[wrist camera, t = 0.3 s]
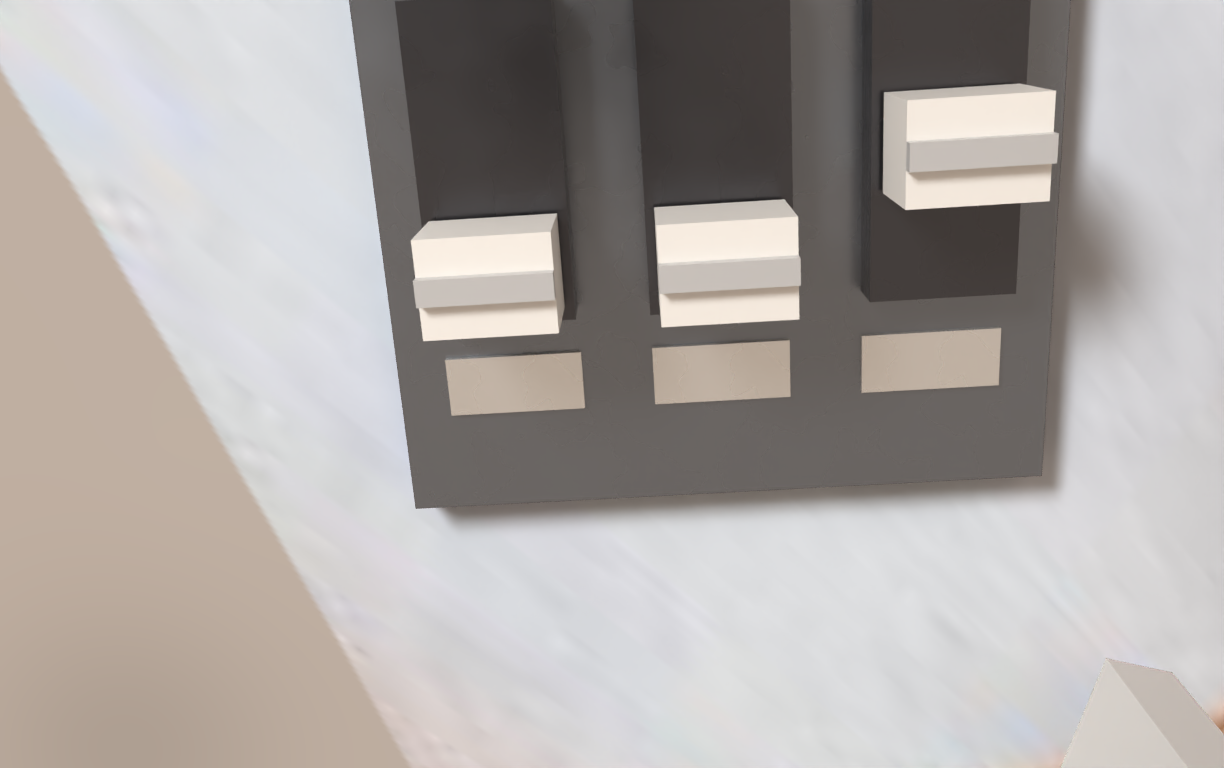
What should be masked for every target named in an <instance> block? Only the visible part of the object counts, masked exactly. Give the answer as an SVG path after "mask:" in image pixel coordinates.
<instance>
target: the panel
mask: <svg viewBox="0 0 1224 768" xmlns="http://www.w3.org/2000/svg"><path fill="white" fill-rule="evenodd" d="M1070 1H1071V0H349V4H350V12H351V19H352V27H353V34H354V42H355V50H356V57H357V65H358V73H359V80H360V88H361V95H362V103H363V111H364V118H365V126H366V133H367V141H368V149H369V156H370V164H371V172H372V179H373V187H374V194H375V202H376V210H377V217H378V225H379V233H380V240H381V248H382V255H383V263H384V271H385V278H386V286H387V293H388V301H389V309H390V316H391V324H392V332H393V339H394V347H395V354H396V362H397V370H398V377H399V385H400V392H401V400H402V408H403V415H404V423H405V431H406V438H407V446H408V453H409V461H410V469H411V476H412V484H413V492H414V499H415V507H416V509H419V508H438V507H457V506H476V505H495V504H514V503H533V502H552V501H571V500H590V499H609V498H628V497H647V496H666V495H685V494H704V493H723V492H741V491H760V490H779V489H798V488H817V487H836V486H855V485H874V484H893V483H912V482H931V481H950V480H969V479H988V478H1007V477H1026V476H1042V463H1043V447H1044V430H1045V414H1046V397H1047V381H1048V364H1049V348H1050V331H1051V315H1052V298H1053V282H1054V265H1055V249H1056V232H1057V216H1058V199H1059V183H1060V166H1061V150H1062V133H1063V117H1064V100H1065V84H1066V67H1067V51H1068V34H1069V18H1070ZM1004 84H1025V85H1030V86H1035V87H1040V88H1045V89H1050V90H1055V91H1056V100H1055V117H1054V132H1055V133H1059V140H1058V157H1057V163H1055V164H1052V169H1051V186H1050V201H1045V202H1028V203H1012V204H996V205H979V206H963V207H947V208H930V209H914V210H905V209H903V208H902V207H901V206H899V205H898V204H897V203H895V202H894V201H893V200H891V199H890V198H889V197H887V196H886V195H885V194H883V130H884V92H897V91H912V90H928V89H943V88H958V87H974V86H989V85H1004ZM781 199H785V201H786V202H787V203H788V205H789V206H790V207H791V208H792V210H793V211H794V212H795V213H796V215H797V216H798V248H799V256H800V258H801V286H799V319H798V320H780V321H763V322H746V323H729V324H711V325H694V326H677V327H661V316H660V306H659V290H658V272H657V253H656V234H655V215H654V207H668V206H684V205H700V204H716V203H733V202H749V201H765V200H781ZM555 213H557V218H558V231H559V243H560V256H561V268H562V281H563V293H564V305H565V308H564V313H563V317H562V322H561V326H560V331H559V333H556V334H539V335H522V336H505V337H487V338H470V339H453V340H436V341H423V336H422V328H421V320H420V312H419V308H416V303H415V295H414V287H413V280H414V279H415V271H414V263H413V254H412V246H411V240H412V239H413V237H414V236H415V235H416V234H417V233H418V232H419V231H420V230H421V229H422V228H423V227H424V226H425V225H426V224H427V223H428V221H442V220H458V219H474V218H490V217H506V216H523V215H539V214H555Z"/></svg>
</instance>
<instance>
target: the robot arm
mask: <svg viewBox="0 0 1224 768" xmlns="http://www.w3.org/2000/svg"><path fill="white" fill-rule="evenodd" d="M1061 768H1224V734H1223V733H1222V732H1221V731H1220V729H1219V728H1218V727H1217V726H1216V725H1215V723H1214V722H1213V721H1212V720H1211V719H1210V717H1209V716H1208V715H1207V714H1206V713H1205V711H1204V710H1203V709H1202V708H1201V707H1200V705H1199V704H1198V703H1197V702H1196V701H1195V699H1194V698H1193V697H1192V696H1191V695H1190V693H1189V692H1188V691H1187V690H1186V689H1185V687H1184V686H1183V685H1182V684H1181V683H1180V681H1179V680H1178V679H1177V678H1176V677H1175V675H1174V674H1173V673H1172V672H1167V671H1162V670H1158V669H1153V668H1149V667H1144V666H1139V665H1135V664H1130V663H1126V662H1121V661H1116V660H1112V659H1107V658H1106V660H1105V662H1104V664H1103V667H1102V669H1101V672H1100V674H1099V677H1098V679H1097V681H1096V684H1095V686H1094V689H1093V691H1092V693H1091V696H1090V698H1089V701H1088V703H1087V705H1086V708H1085V710H1084V713H1083V715H1082V717H1081V720H1080V722H1079V725H1078V727H1077V729H1076V732H1075V734H1074V737H1073V739H1072V741H1071V744H1070V746H1069V749H1068V751H1067V753H1066V756H1065V758H1064V761H1063V763H1062V765H1061Z"/></svg>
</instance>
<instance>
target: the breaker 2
mask: <svg viewBox="0 0 1224 768" xmlns="http://www.w3.org/2000/svg"><path fill="white" fill-rule="evenodd" d="M654 215H655V234H656V253H657V272H658V290H659V306H660V316H661V327H677V326H694V325H711V324H729V323H746V322H763V321H780V320H798V319H799V286H801V258H800V256H799V248H798V216H797V215H796V213H795V212H794V211H793V210H792V208H791V207H790V206H789V205H788V203H787V202H786V201H785V199H781V200H765V201H749V202H733V203H716V204H700V205H684V206H668V207H654Z"/></svg>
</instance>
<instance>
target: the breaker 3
mask: <svg viewBox="0 0 1224 768" xmlns="http://www.w3.org/2000/svg"><path fill="white" fill-rule="evenodd" d="M1055 100H1056V91H1055V90H1050V89H1045V88H1040V87H1035V86H1030V85H1025V84H1004V85H989V86H974V87H958V88H943V89H928V90H912V91H897V92H884V130H883V194H885V195H886V196H887V197H889V198H890V199H891V200H893V201H894V202H895V203H897V204H898V205H899V206H901V207H902V208H903V209H905V210H914V209H930V208H947V207H963V206H979V205H996V204H1012V203H1028V202H1045V201H1050V186H1051V169H1052V164H1055V163H1057V157H1058V140H1059V133H1055V132H1054V117H1055Z"/></svg>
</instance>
